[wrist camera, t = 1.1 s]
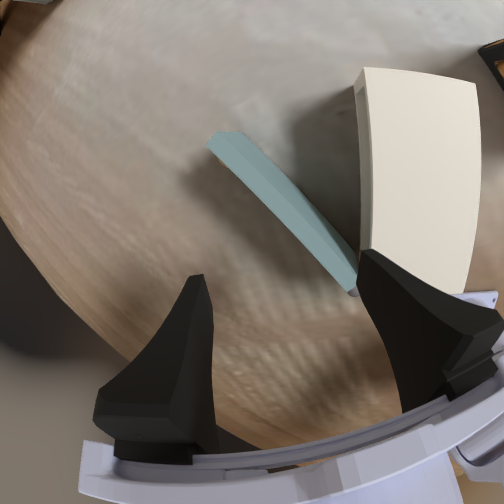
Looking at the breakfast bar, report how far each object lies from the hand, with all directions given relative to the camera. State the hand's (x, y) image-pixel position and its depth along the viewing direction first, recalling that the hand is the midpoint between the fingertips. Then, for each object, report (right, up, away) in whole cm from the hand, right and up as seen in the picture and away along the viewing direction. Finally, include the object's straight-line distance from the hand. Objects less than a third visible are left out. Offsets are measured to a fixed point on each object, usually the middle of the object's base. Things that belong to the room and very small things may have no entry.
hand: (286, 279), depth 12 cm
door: (+2, +5, +10) cm, 12 cm away
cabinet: (+11, +7, +7) cm, 15 cm away
